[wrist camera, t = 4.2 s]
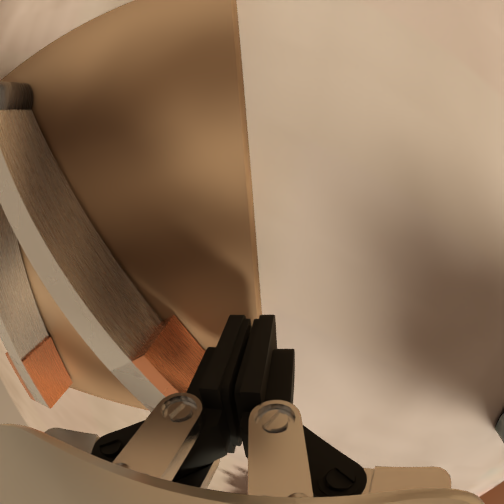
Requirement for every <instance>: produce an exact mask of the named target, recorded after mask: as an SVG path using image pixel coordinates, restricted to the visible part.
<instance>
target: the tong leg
mask: <svg viewBox="0 0 504 504" xmlns="http://www.w3.org/2000/svg"><path fill="white" fill-rule="evenodd" d="M32 105H33V91H32V88H31V86H30V85H29V84H28V83H20V82H6V81H0V203H1V206H2V208H3V210H4V212H5V215H6V217H7V219H8V221H9V223H10V225H11V227H12V229H13V231H14V233H15V235H16V237H17V239H18V241H19V243H20V245H21V247H22V248H23V250H24V252H25V254H26V256H27V257H28V259H29V261H30V263H31V264H32V266H33V268H34V269H35V271H36V273H37V274H38V276H39V278H40V279H41V281H42V282H43V284H44V286H45V287H46V289H47V290H48V292H49V293H50V295H51V296H52V298H53V299H54V301H55V302H56V304H57V305H58V306H59V308H60V309H61V311H62V312H63V314H64V315H65V316H66V318H67V319H68V320H69V322H70V323H71V324H72V326H73V327H74V328H75V330H76V331H77V332H78V334H79V335H80V336H81V337H82V339H83V340H84V341H85V342H86V344H87V345H88V346H89V347H90V348H91V350H92V351H93V352H94V353H95V354H96V356H97V357H98V358H99V359H100V360H101V361H102V362H103V364H104V365H105V366H106V367H107V368H108V369H109V370H110V371H111V373H112V374H113V375H114V376H115V377H116V378H117V379H118V380H119V381H120V382H121V383H122V384H123V385H124V386H125V387H126V388H127V389H128V390H129V391H130V392H131V393H132V394H133V395H134V396H135V397H136V398H137V399H138V400H139V401H140V402H141V403H142V404H143V405H144V406H145V407H146V408H147V409H148V410H149V411H150V412H152V411H153V410H154V408H155V407H156V406H157V405H158V403H159V402H160V401H161V400H162V399H163V398H165V397H167V396H168V395H171V394H174V393H182V392H183V393H186V392H187V390H188V388H189V385H190V383H191V381H192V379H193V377H194V375H195V373H196V370H197V368H198V366H199V364H200V362H201V360H202V358H203V355H204V353H205V351H204V350H203V348H202V347H201V346H200V345H199V344H198V343H197V341H196V340H195V339H194V338H193V337H192V336H191V334H190V333H189V332H188V331H187V330H186V328H185V327H184V326H183V325H182V323H181V322H180V321H179V320H178V319H177V317H176V316H175V315H172V316H170V317H169V318H167V319H165V320H163V321H162V320H161V319H160V318H159V317H158V315H157V314H156V313H155V312H154V310H153V309H152V308H151V307H150V305H149V304H148V303H147V301H146V300H145V299H144V297H143V296H142V295H141V294H140V292H139V291H138V290H137V288H136V287H135V286H134V284H133V283H132V282H131V280H130V279H129V277H128V276H127V275H126V273H125V272H124V271H123V269H122V268H121V266H120V265H119V263H118V262H117V261H116V259H115V258H114V256H113V255H112V253H111V252H110V250H109V249H108V247H107V246H106V244H105V243H104V241H103V240H102V238H101V237H100V235H99V234H98V232H97V231H96V229H95V228H94V226H93V225H92V223H91V221H90V220H89V218H88V217H87V215H86V213H85V212H84V210H83V208H82V207H81V205H80V203H79V202H78V200H77V198H76V197H75V195H74V193H73V191H72V190H71V188H70V186H69V184H68V183H67V181H66V179H65V177H64V175H63V173H62V172H61V170H60V168H59V166H58V164H57V162H56V160H55V158H54V156H53V154H52V152H51V150H50V148H49V146H48V144H47V142H46V140H45V138H44V136H43V134H42V132H41V130H40V128H39V125H38V123H37V121H36V119H35V117H34V114H33V112H32Z"/></svg>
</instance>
